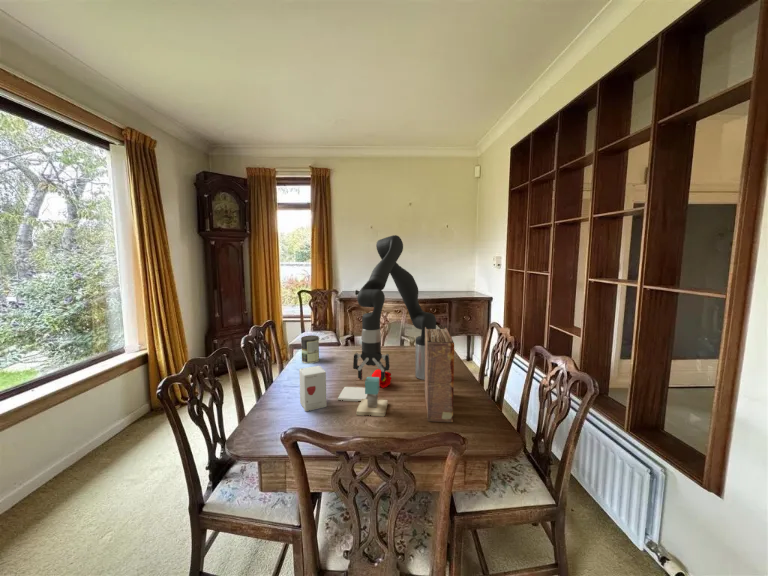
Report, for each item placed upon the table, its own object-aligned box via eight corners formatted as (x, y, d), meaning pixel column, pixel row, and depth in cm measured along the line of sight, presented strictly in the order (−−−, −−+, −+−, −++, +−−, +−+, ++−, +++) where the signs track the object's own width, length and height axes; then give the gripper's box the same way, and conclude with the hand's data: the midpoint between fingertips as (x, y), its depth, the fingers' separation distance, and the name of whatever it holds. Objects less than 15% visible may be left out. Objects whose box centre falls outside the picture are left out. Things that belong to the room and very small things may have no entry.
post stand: (387, 403, 132) (387, 376, 130) (384, 416, 121) (384, 387, 120) (361, 402, 133) (361, 375, 132) (356, 415, 122) (355, 386, 121)
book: (424, 392, 142) (424, 327, 139) (445, 393, 141) (446, 327, 138) (427, 422, 116) (428, 342, 114) (453, 422, 116) (454, 342, 113)
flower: (382, 369, 157) (393, 373, 151) (378, 385, 155) (389, 389, 149) (371, 366, 152) (382, 370, 146) (366, 382, 150) (377, 387, 144)
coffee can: (298, 363, 183) (298, 339, 182) (305, 357, 193) (304, 335, 192) (315, 363, 182) (315, 339, 180) (321, 358, 192) (321, 335, 191)
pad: (370, 390, 145) (370, 387, 145) (365, 401, 133) (365, 399, 133) (344, 388, 146) (344, 386, 146) (337, 400, 135) (337, 398, 134)
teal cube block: (379, 389, 128) (379, 377, 128) (377, 394, 123) (377, 382, 123) (367, 388, 129) (367, 376, 128) (365, 393, 124) (364, 381, 123)
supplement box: (304, 412, 125) (303, 375, 123) (299, 403, 133) (298, 368, 131) (327, 407, 129) (326, 371, 127) (321, 398, 137) (320, 364, 135)
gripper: (390, 337, 127) (390, 377, 128) (355, 336, 129) (355, 375, 130) (388, 342, 120) (388, 384, 121) (351, 341, 121) (351, 382, 123)
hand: (371, 379), depth 126 cm, fingers open, 8 cm apart
